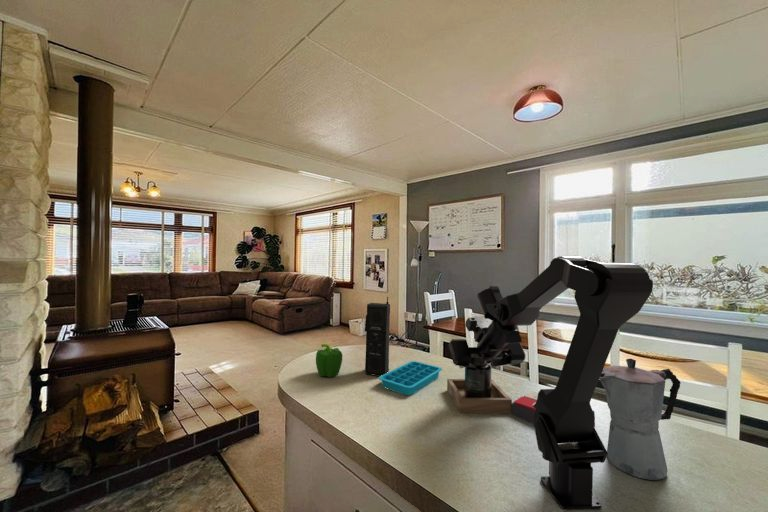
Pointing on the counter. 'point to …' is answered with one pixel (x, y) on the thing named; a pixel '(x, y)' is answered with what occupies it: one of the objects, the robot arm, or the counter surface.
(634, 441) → the moka pot
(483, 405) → the holder
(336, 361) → the bell pepper
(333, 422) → the counter surface
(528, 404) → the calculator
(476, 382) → the supplement bottle
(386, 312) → the portable radio
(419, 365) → the ice cube tray
